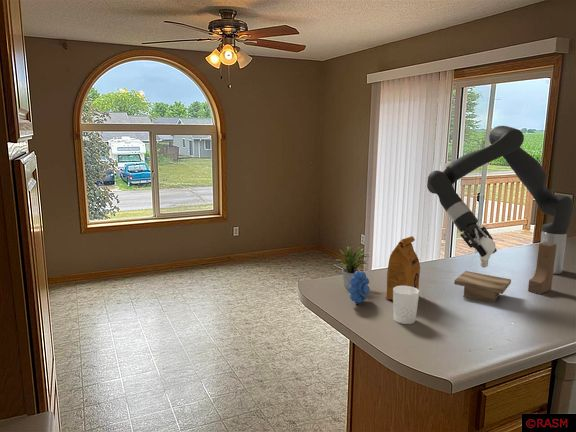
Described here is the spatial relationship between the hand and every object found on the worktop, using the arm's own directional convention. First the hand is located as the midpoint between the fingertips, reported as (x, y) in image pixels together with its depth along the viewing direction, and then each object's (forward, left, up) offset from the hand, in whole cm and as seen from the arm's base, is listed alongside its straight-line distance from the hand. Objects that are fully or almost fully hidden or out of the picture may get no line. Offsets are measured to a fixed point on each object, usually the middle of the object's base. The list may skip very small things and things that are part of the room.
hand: (489, 253), depth 154 cm
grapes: (+35, -32, -16) cm, 50 cm away
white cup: (+38, -15, -16) cm, 44 cm away
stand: (0, -1, -16) cm, 16 cm away
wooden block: (-20, +15, -16) cm, 29 cm away
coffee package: (+20, -23, -16) cm, 35 cm away
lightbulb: (0, -2, -6) cm, 6 cm away
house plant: (+22, -43, -16) cm, 51 cm away
